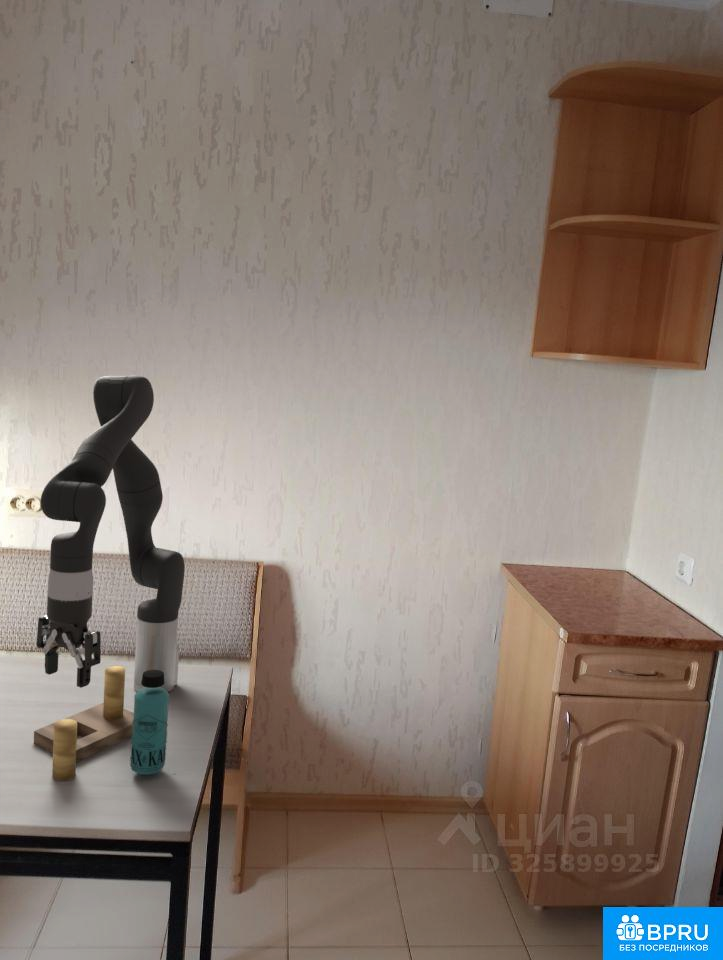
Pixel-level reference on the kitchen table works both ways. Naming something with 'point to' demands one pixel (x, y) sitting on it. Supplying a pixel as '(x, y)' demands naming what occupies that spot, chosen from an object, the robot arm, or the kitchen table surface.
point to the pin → (64, 749)
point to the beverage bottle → (149, 724)
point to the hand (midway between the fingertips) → (66, 679)
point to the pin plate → (98, 720)
